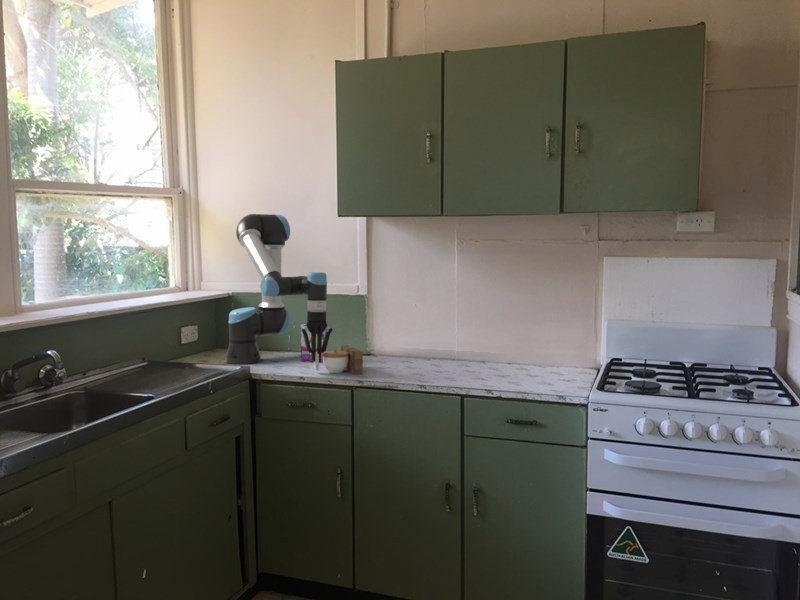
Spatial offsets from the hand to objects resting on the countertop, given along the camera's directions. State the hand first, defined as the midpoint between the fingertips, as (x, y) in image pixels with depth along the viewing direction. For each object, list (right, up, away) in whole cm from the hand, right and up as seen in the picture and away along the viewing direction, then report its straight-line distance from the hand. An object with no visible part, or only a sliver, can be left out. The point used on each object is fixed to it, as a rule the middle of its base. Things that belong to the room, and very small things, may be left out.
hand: (316, 369), depth 260 cm
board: (+14, -1, +7) cm, 15 cm away
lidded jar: (+7, -2, +4) cm, 9 cm away
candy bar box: (-4, +1, +28) cm, 28 cm away
